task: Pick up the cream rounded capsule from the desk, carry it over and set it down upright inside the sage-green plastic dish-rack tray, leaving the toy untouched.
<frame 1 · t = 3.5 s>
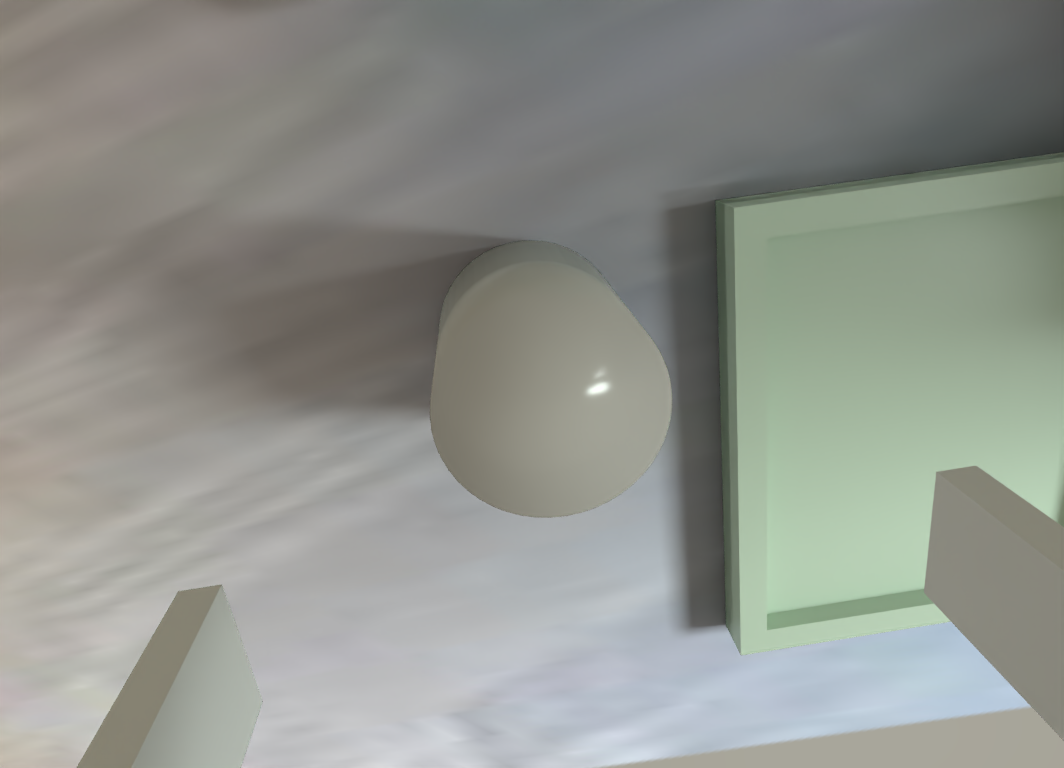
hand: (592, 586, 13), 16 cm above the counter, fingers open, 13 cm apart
rack tray: (915, 409, 31), on the counter
cream rounded capsule: (529, 330, 28), on the counter
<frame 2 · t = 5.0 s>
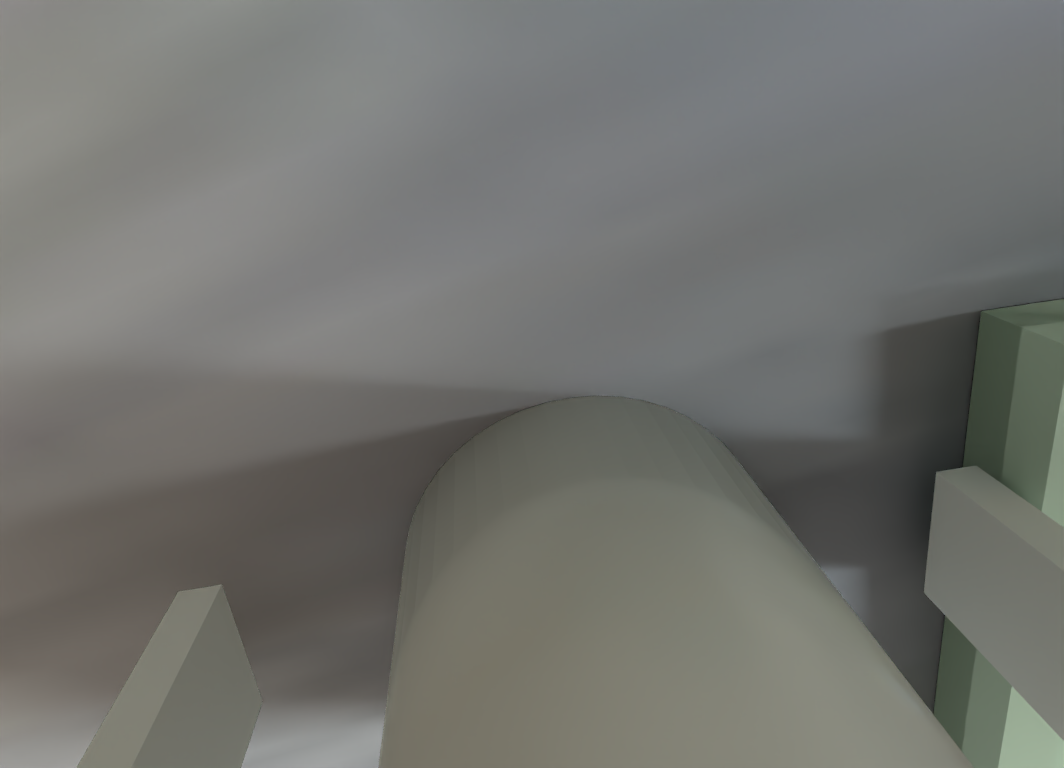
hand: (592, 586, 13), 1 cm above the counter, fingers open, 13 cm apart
cream rounded capsule: (586, 561, 14), on the counter
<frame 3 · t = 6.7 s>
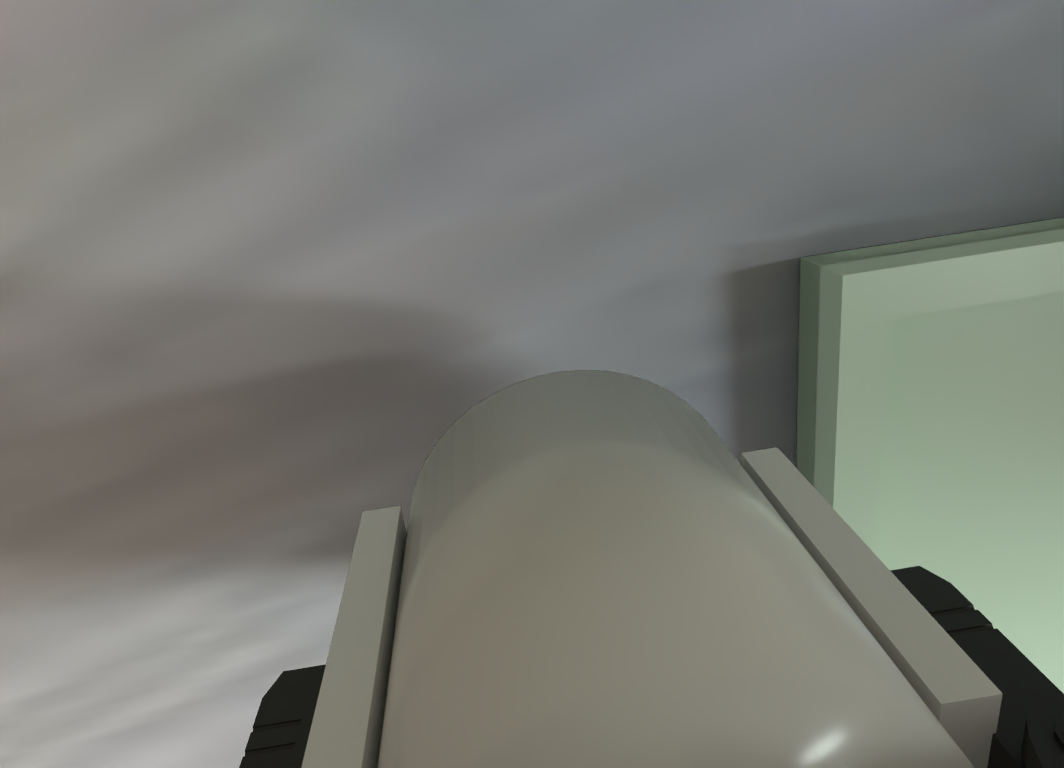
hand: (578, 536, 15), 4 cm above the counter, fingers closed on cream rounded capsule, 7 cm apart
rack tray: (1059, 537, 22), on the counter
cream rounded capsule: (575, 524, 15), point 4 cm above the counter, touching gripper
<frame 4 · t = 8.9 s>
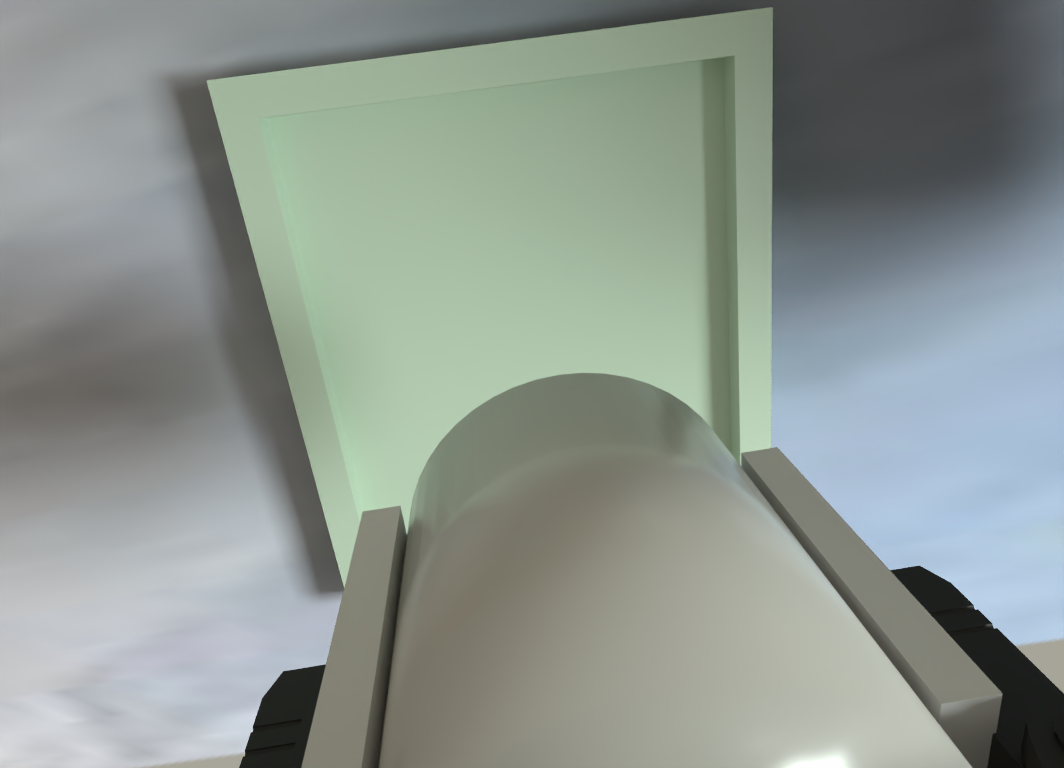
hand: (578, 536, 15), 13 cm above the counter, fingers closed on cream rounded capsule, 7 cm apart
rack tray: (529, 339, 27), on the counter
cream rounded capsule: (576, 527, 15), point 13 cm above the counter, touching gripper
when the fingers open (3 cm above the counter, at t = 11.4 s): cream rounded capsule drops 1 cm, resting on rack tray.
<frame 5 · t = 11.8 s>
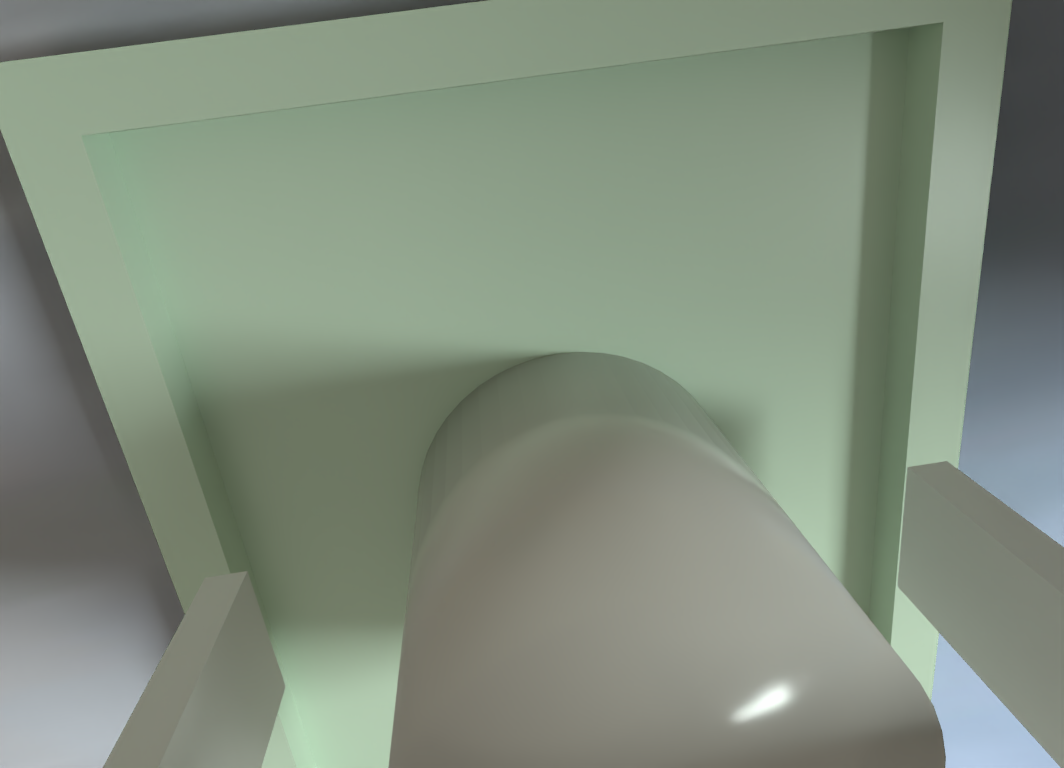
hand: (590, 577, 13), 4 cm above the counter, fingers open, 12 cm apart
rack tray: (562, 476, 17), on the counter
cream rounded capsule: (574, 497, 16), point 1 cm above the counter, touching rack tray
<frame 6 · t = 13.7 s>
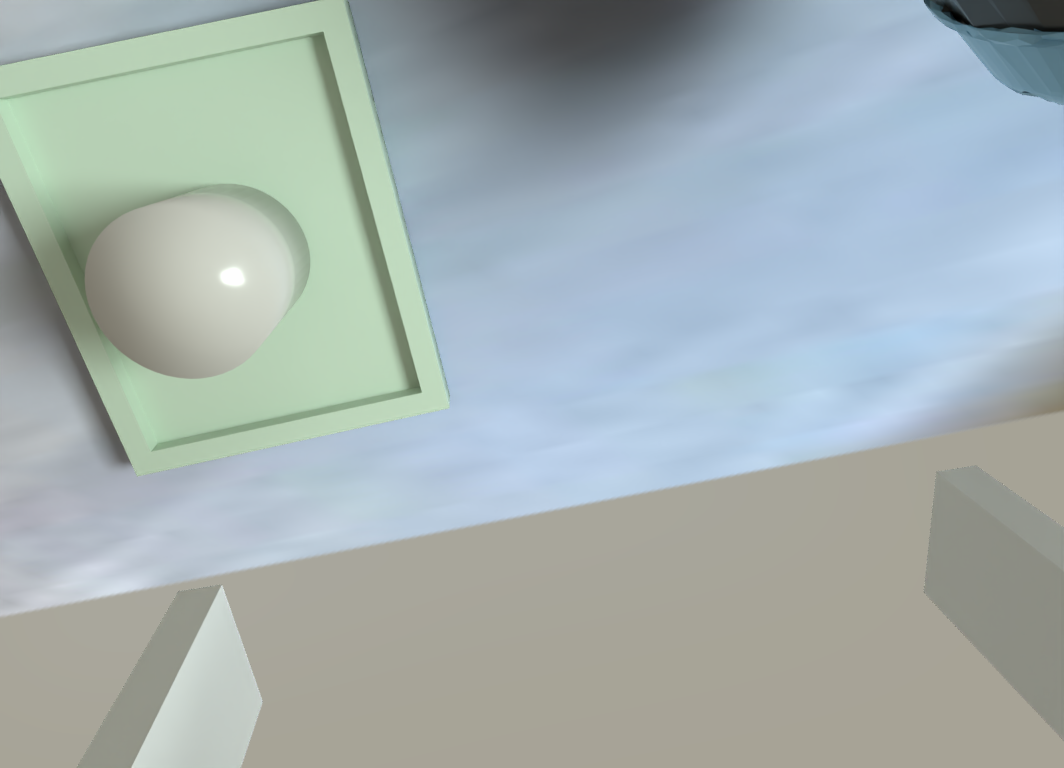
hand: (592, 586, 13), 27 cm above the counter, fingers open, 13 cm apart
rack tray: (240, 252, 36), on the counter
cream rounded capsule: (237, 256, 36), point 1 cm above the counter, touching rack tray
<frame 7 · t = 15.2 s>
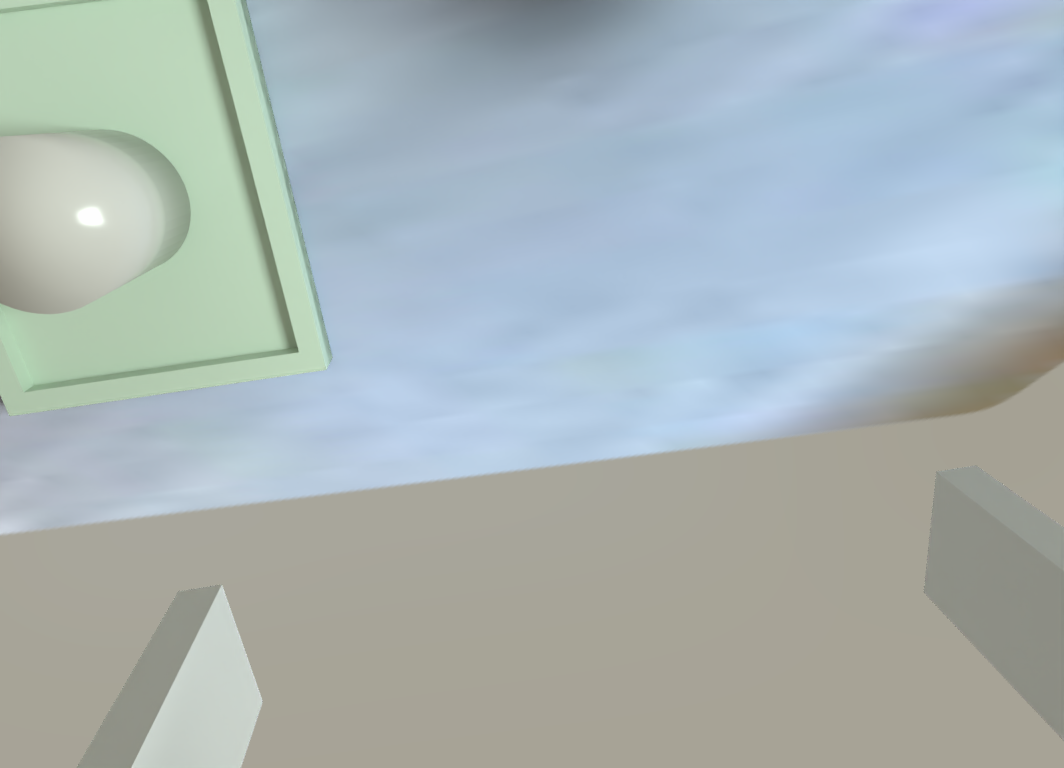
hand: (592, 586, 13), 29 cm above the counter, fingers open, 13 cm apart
rack tray: (123, 200, 37), on the counter
cream rounded capsule: (117, 203, 36), point 1 cm above the counter, touching rack tray
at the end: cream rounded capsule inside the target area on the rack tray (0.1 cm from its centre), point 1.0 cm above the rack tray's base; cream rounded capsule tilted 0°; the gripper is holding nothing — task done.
